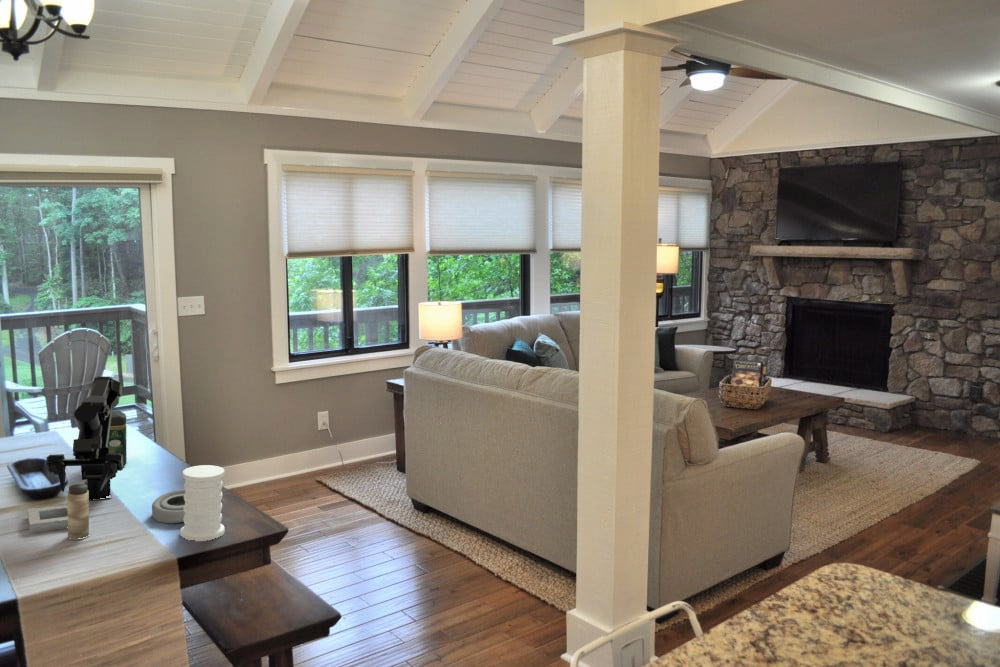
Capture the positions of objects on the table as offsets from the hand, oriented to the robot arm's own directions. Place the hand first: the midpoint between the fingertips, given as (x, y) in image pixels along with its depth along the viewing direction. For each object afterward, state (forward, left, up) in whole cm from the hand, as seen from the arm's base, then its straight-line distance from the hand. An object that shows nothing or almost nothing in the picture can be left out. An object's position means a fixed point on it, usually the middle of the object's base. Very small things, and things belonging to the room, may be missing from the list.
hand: (81, 490), depth 217 cm
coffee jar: (-15, -57, -12) cm, 60 cm away
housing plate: (+6, -9, -11) cm, 16 cm away
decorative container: (-29, +14, -12) cm, 34 cm away
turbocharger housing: (-27, -2, -12) cm, 29 cm away
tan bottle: (+1, +4, -11) cm, 12 cm away
